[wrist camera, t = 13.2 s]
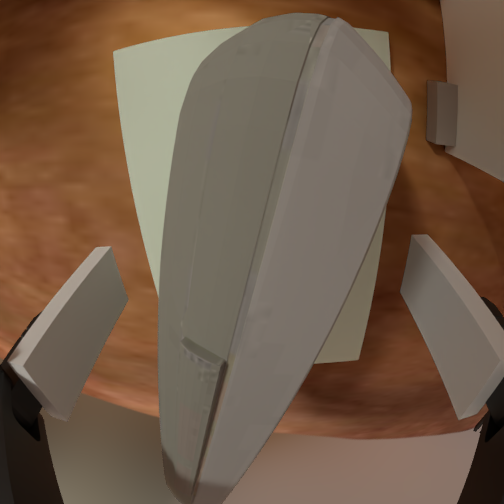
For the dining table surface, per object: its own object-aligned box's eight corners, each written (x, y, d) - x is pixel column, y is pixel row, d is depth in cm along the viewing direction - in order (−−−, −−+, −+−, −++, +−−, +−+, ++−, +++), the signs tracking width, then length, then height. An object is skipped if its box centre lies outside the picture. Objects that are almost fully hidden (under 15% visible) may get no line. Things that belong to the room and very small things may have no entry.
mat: (119, 52, 11) (113, 51, 10) (383, 34, 10) (388, 32, 10) (181, 357, 20) (180, 364, 20) (356, 353, 19) (358, 360, 19)
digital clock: (274, 367, 19) (275, 523, 10) (140, 322, 18) (81, 480, 8) (424, 138, 12) (615, 254, 3) (243, 40, 10) (176, -113, 1)
